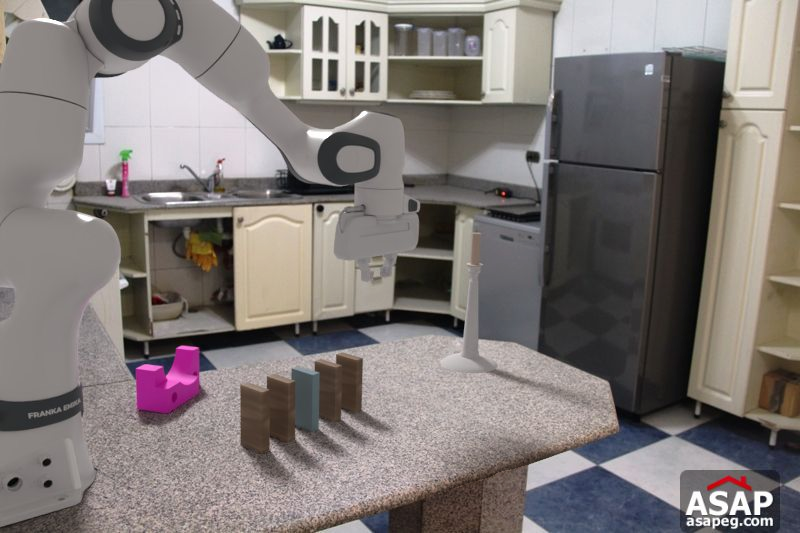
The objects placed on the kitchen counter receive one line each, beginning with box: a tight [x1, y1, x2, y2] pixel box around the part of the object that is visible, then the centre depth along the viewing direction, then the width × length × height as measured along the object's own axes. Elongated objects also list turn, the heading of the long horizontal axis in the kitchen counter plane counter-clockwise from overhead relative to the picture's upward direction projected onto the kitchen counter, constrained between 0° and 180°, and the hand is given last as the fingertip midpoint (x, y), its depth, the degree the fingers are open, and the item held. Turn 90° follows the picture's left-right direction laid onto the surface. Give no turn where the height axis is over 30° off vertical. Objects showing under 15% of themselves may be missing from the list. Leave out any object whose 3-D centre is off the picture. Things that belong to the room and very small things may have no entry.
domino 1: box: [239, 381, 271, 454], centre depth 114 cm, size 2×5×10 cm, turn 52°
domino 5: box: [335, 352, 364, 413], centre depth 131 cm, size 2×5×10 cm, turn 52°
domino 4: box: [314, 358, 342, 423], centre depth 126 cm, size 2×5×10 cm, turn 52°
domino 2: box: [266, 373, 296, 443], centre depth 118 cm, size 2×5×10 cm, turn 52°
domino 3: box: [290, 365, 320, 433], centre depth 122 cm, size 2×5×10 cm, turn 52°
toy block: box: [135, 345, 201, 414], centre depth 134 cm, size 15×6×8 cm, turn 165°
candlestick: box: [439, 230, 499, 374], centre depth 155 cm, size 13×13×30 cm
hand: (376, 278), depth 133 cm, fingers open, 4 cm apart
